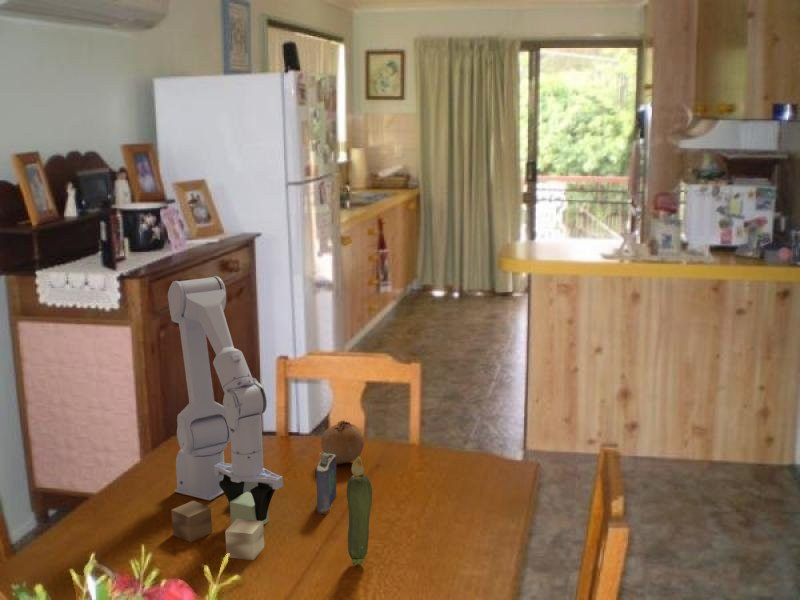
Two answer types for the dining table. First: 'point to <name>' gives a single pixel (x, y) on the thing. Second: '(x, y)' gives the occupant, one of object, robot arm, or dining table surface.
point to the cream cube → (245, 539)
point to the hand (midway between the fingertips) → (249, 516)
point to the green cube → (244, 508)
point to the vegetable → (358, 512)
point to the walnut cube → (191, 521)
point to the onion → (343, 442)
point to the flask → (326, 482)
